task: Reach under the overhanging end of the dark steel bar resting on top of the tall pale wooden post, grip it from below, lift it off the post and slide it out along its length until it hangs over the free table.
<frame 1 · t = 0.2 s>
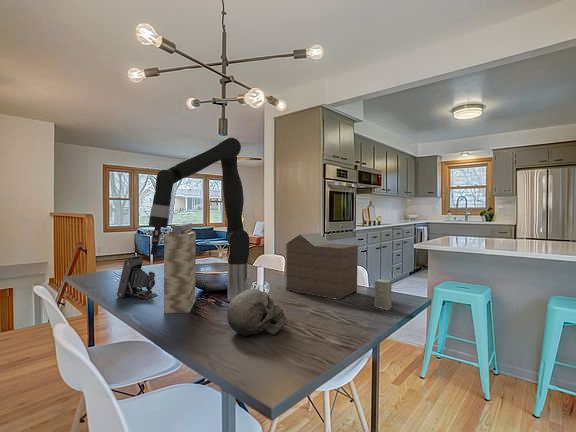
hand: (153, 253, 135), 23 cm above the table, tool pointing down, fingers open, 8 cm apart
skincare box: (382, 308, 139), on the table
skull: (257, 332, 110), on the table
post: (180, 306, 137), on the table
bar: (183, 232, 141), point 32 cm above the table, touching post
building model: (319, 291, 168), on the table
camera: (139, 296, 153), on the table
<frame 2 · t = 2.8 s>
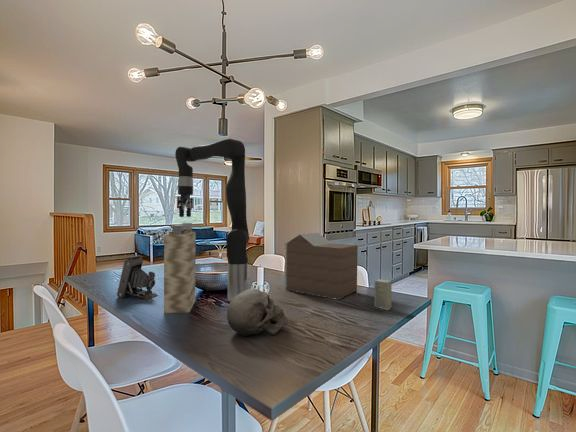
hand: (185, 216, 166), 38 cm above the table, tool pointing down, fingers open, 8 cm apart
nothing on the table moved.
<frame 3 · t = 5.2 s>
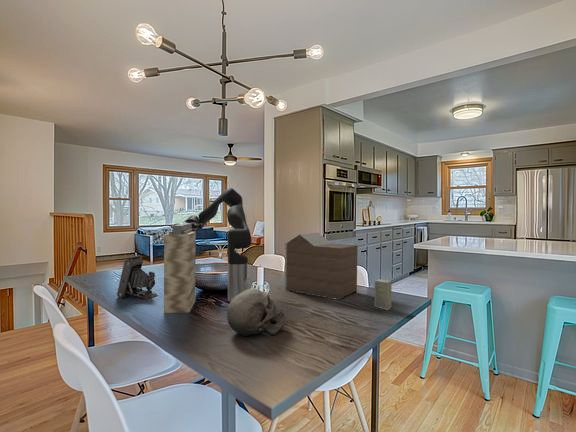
hand: (186, 226, 164), 33 cm above the table, tool horizontal, fingers open, 8 cm apart
nothing on the table moved.
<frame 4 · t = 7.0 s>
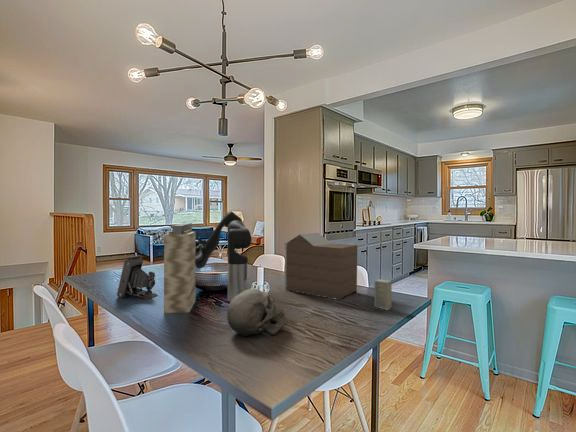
hand: (190, 239, 163), 27 cm above the table, tool pointing upward, fingers open, 8 cm apart
nothing on the table moved.
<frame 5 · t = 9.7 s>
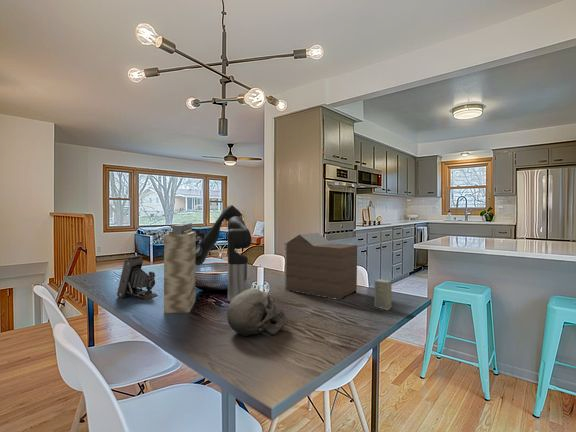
hand: (188, 231, 154), 32 cm above the table, tool pointing upward, fingers open, 8 cm apart
nothing on the table moved.
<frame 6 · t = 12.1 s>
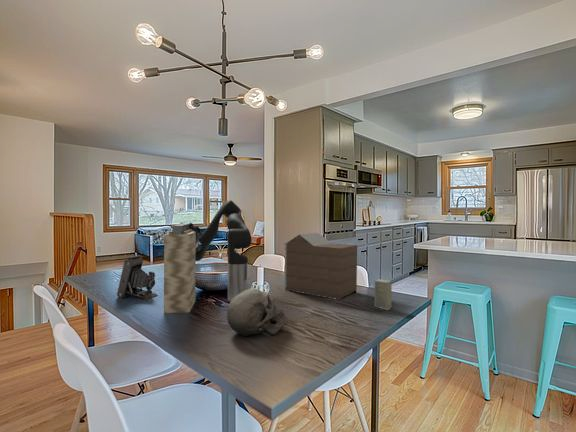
hand: (185, 224, 148), 35 cm above the table, tool pointing upward, fingers closed on bar, 3 cm apart
bar: (183, 232, 141), point 32 cm above the table, touching gripper, post
everything else where it was.
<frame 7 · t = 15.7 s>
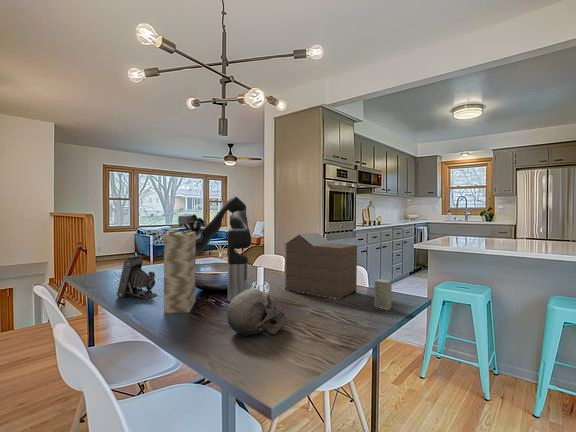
hand: (189, 215, 159), 39 cm above the table, tool pointing upward, fingers closed on bar, 3 cm apart
bar: (187, 222, 153), point 36 cm above the table, touching gripper
everything else where it was.
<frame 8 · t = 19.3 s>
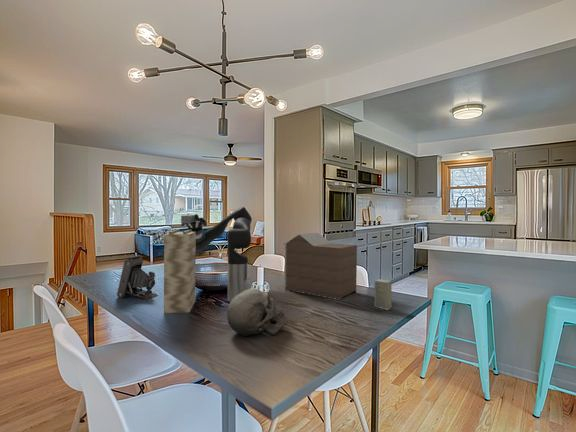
hand: (191, 215, 166), 39 cm above the table, tool pointing upward, fingers closed on bar, 3 cm apart
bar: (189, 222, 159), point 36 cm above the table, touching gripper
everything else where it was.
at the end: the gripper is holding bar; bar inside the target area (1.3 cm from its centre), point 35.8 cm above the table; bar touching gripper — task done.
